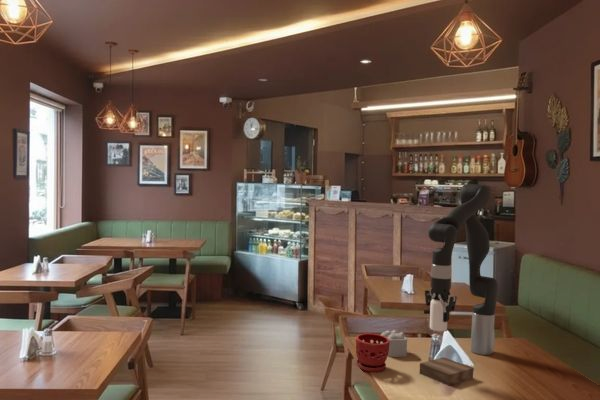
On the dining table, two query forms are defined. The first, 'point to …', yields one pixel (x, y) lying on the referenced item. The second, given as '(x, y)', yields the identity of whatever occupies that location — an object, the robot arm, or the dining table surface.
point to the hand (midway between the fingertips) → (439, 319)
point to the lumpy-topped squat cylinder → (396, 343)
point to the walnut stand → (446, 371)
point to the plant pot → (371, 352)
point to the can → (437, 316)
